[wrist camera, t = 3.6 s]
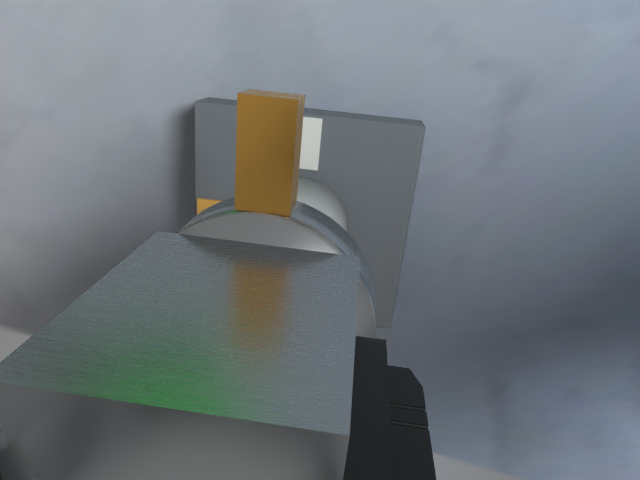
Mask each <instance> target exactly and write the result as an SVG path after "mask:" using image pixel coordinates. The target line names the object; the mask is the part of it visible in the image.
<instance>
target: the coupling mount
mask: <svg viewBox="0 0 640 480" xmlns="http://www.w3.org/2000/svg"><path fill="white" fill-rule="evenodd" d="M425 128H426V127H425V125H424V124H423V122H422V121H418V120H409V119H400V118H390V117H381V116H372V115H363V114H354V113H345V112H336V111H327V110H318V109H308V108H304V115H303V128H302V140H301V153H300V166H299V179H298V191H297V201H299V202H302V203H305V204H307V205H309V206H311V207H313V208H315V209H317V210H319V211H321V212H322V213H324V214H325V215H327V216H329V217H330V218H332V219H333V220H334V221H335V222H336V223H338V224H339V225H340V226H341V227H342V228H343V229H344V230H345V231H346V232H347V233H348V234H349V235H350V236H351V237H352V238H353V240H354V241H355V242H356V244H357V245H358V246H359V248H360V249H361V251H362V253H363V255H364V257H365V259H366V260H367V263H368V265H369V268H370V271H371V273H372V277H373V282H374V287H375V305H376V327H383V328H390V327H391V321H392V315H393V310H394V304H395V298H396V293H397V287H398V281H399V276H400V270H401V264H402V259H403V253H404V247H405V242H406V236H407V230H408V224H409V219H410V213H411V207H412V202H413V196H414V190H415V185H416V179H417V173H418V168H419V162H420V156H421V151H422V145H423V139H424V133H425ZM236 134H237V101H235V100H226V99H217V98H205V99H202V100H198V101H195V216H196V215H198V214H199V213H200V212H202V211H203V210H205V209H207V208H208V207H210V206H212V205H214V204H216V203H219V202H222V201H224V200H227V199H230V198H235V172H236Z"/></svg>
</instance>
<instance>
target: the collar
mask: <svg viewBox="0 0 640 480" xmlns="http://www.w3.org/2000/svg"><path fill="white" fill-rule="evenodd" d="M304 102H305V95H297V94H288V93H279V92H270V91H260V90H251V89H249V90H246V91H243V92H240V93H238V97H237V134H236V172H235V198H230V199H227V200H224V201H222V202H219V203H216V204H214V205H212V206H210V207H208V208H207V209H205V210H203V211H202V212H200V213H199V214H198V215H196V216H195V217H193V218H192V219H191V220H190V221H189V222H188V223H187V224H186V225H185V226H184V227H183V228H182V229H181V230H179V231H178V232H177V233H170V232H162V231H157V232H156V233H154V234H153V235H152V236H151V237H150V238H148V239H147V240H146V241H145V242H144V243H142V244H141V245H140V246H139V247H138V248H136V249H135V250H134V251H133V252H132V253H130V254H129V255H128V256H127V257H126V258H124V259H123V260H122V261H121V262H120V263H119V264H117V265H116V266H115V267H114V268H113V269H111V270H110V271H109V272H108V273H107V274H105V275H104V276H103V277H102V278H101V279H99V280H98V281H97V282H96V283H95V284H93V285H92V286H91V287H90V288H89V289H88V290H86V291H85V292H84V293H83V294H82V295H80V296H79V297H78V298H77V299H76V300H74V301H73V302H72V303H71V304H70V305H68V306H67V307H66V308H65V309H64V310H62V311H61V312H60V313H59V314H58V315H57V316H55V317H54V318H53V319H52V320H51V321H49V322H48V323H47V324H46V325H45V326H43V327H42V328H41V329H40V330H39V331H37V332H36V333H35V334H34V335H33V336H31V337H30V338H29V339H28V340H27V341H26V342H25V343H23V344H22V345H21V346H20V347H18V348H17V349H16V350H15V351H14V352H12V353H11V354H10V355H9V356H8V357H7V358H5V359H4V360H3V361H2V362H1V363H0V473H1V478H2V480H343V476H344V469H345V463H346V456H347V450H348V443H349V437H350V422H351V405H352V389H353V372H354V356H355V339H356V336H361V337H368V338H376V305H375V287H374V282H373V277H372V273H371V271H370V268H369V265H368V263H367V260H366V259H365V257H364V255H363V253H362V251H361V249H360V248H359V246H358V245H357V244H356V242H355V241H354V240H353V238H352V237H351V236H350V235H349V234H348V233H347V232H346V231H345V230H344V229H343V228H342V227H341V226H340V225H339V224H338V223H336V222H335V221H334V220H333V219H332V218H330V217H329V216H327V215H325V214H324V213H322V212H321V211H319V210H317V209H315V208H313V207H311V206H309V205H307V204H305V203H302V202H299V201H297V191H298V179H299V166H300V153H301V140H302V128H303V115H304Z"/></svg>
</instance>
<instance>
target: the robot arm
mask: <svg viewBox="0 0 640 480" xmlns="http://www.w3.org/2000/svg"><path fill="white" fill-rule="evenodd" d="M425 409H426V407H425V400H424V393H423V387H422V386H421V384H420V383H419V381H418V380H417V379H416V377H415V376H414V374H413V373H412V371H411V370H410V369H409V368H402V367H395V366H388V365H387V349H386V340H382V339H375V338H368V337H361V336H356V339H355V356H354V372H353V389H352V405H351V422H350V437H349V443H348V450H347V456H346V463H345V469H344V476H343V480H436V476H435V468H434V462H433V455H432V448H431V441H430V434H429V430H428V421H427V414H426V412H425ZM0 480H2V478H1V473H0Z"/></svg>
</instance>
